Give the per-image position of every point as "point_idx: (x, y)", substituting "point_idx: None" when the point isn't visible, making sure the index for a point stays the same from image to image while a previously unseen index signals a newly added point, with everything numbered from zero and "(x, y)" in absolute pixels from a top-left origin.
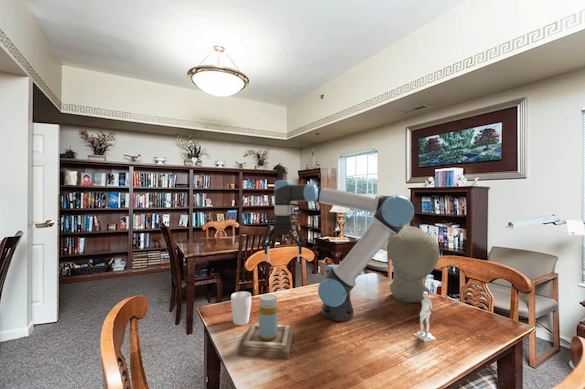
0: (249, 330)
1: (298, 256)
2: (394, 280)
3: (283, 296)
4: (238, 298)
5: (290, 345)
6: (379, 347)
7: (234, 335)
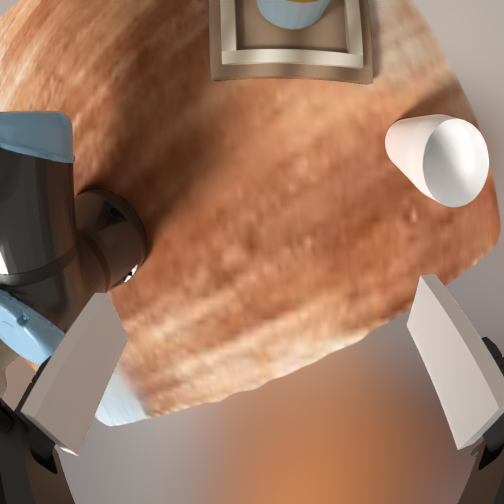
0: (364, 42)
1: (72, 333)
2: (3, 343)
3: (288, 339)
4: (454, 194)
5: None
6: (21, 87)
7: (403, 57)
